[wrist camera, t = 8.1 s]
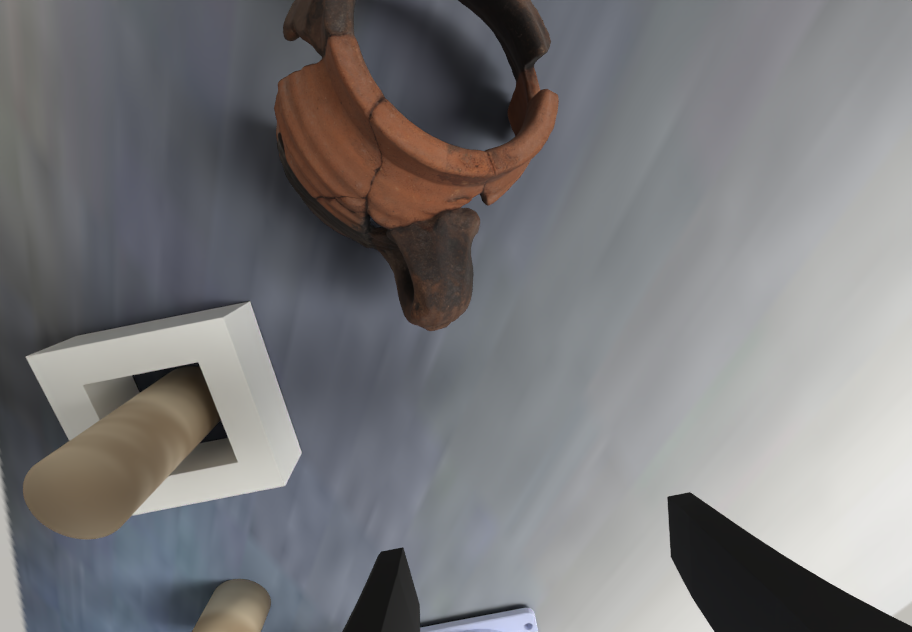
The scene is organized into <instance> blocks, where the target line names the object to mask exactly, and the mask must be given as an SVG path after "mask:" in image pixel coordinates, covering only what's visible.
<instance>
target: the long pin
mask: <svg viewBox="0 0 912 632" xmlns="http://www.w3.org/2000/svg"><path fill="white" fill-rule="evenodd" d="M220 420H221V418H220V416H219V413H218V411H217V408H216V406H215V403H214V401H213V398H212V395H211V393H210V390H209V388H208V385H207V383H206V380H205V378H204V375H203V373H202V370H201V368H200V367H196V366H184V367H180V368H177V369H174V370H173V371H171V372H170V373H168V374H167V375H165V376H164V377H162V378H161V379H159V380H158V381H156V382H155V383H153V384H152V385H151V386H149V387H148V388H146V389H145V390H143V391H142V392H140V393H139V394H137V395H136V396H134V397H133V398H132V399H130V400H129V401H127V402H126V403H124V404H123V405H121V406H120V407H118V408H117V409H115V410H114V411H113V412H111V413H110V414H108V415H107V416H105V417H104V418H102V419H101V420H99V421H98V422H96V423H95V424H94V425H92V426H91V427H89V428H88V429H86V430H85V431H83V432H82V433H80V434H79V435H77V436H76V437H75V438H73V439H72V440H70V441H69V442H67V443H66V444H64V445H63V446H61V447H60V448H58V449H57V450H56V451H54V452H53V453H51V454H50V455H48V456H47V457H45V458H44V459H42V460H41V461H40V462H38V463H37V464H35V465H34V466H33V467H32V468H31V469H30V470H29V472H28V473H27V475H26V477H25V480H24V483H23V495H24V499H25V502H26V504H27V506H28V508H29V510H30V511H31V512H32V514H33V515H34V516H35V517H36V518H37V519H38V520H39V521H40V522H41V523H42V524H43V525H45V526H46V527H48V528H49V529H51V530H53V531H55V532H57V533H59V534H62V535H65V536H68V537H72V538H77V539H96V538H101V537H105V536H107V535H110V534H112V533H114V532H115V531H117V530H118V529H119V528H120V527H121V526H122V525H123V524H124V523H125V522H126V521H127V520H128V519H129V518H130V517H131V516H132V514H133V513H134V512H135V511H136V510H137V509H138V508H139V507H140V506H141V505H142V504H143V503H144V502H145V501H146V500H147V498H148V497H149V496H150V495H151V494H152V493H153V492H154V491H155V490H156V489H157V488H158V487H159V486H160V485H161V484H162V482H163V481H164V480H165V479H166V478H167V477H168V476H169V475H170V474H171V473H172V472H173V471H174V470H175V469H176V467H177V466H178V465H179V464H180V463H181V462H182V461H183V460H184V459H185V458H186V457H187V456H188V455H189V454H190V453H191V451H192V450H193V449H194V448H195V447H196V446H197V445H198V444H199V443H200V442H201V441H202V440H203V439H204V438H205V436H206V435H207V434H208V433H209V432H210V431H211V430H212V429H213V428H214V427H215V426H216V425H217V424H218V423H219V422H220Z"/></svg>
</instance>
